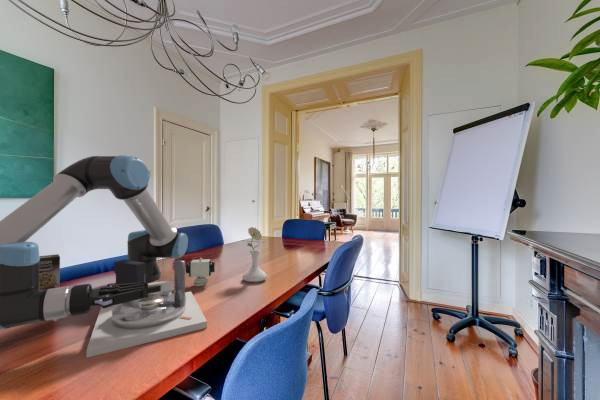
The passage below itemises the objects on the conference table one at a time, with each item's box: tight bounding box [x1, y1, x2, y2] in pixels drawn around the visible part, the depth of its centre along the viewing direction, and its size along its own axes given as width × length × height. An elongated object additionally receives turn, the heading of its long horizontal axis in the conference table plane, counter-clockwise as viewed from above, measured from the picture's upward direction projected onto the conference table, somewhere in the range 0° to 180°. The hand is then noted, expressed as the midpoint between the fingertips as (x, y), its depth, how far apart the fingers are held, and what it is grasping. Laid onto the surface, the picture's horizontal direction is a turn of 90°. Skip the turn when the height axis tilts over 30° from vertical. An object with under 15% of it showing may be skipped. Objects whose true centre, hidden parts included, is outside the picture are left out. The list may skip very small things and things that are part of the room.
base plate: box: [86, 291, 208, 358], centre depth 81 cm, size 28×28×2 cm
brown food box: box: [39, 253, 61, 290], centre depth 96 cm, size 9×6×16 cm
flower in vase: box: [242, 226, 268, 283], centre depth 122 cm, size 13×11×25 cm
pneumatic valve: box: [185, 257, 216, 287], centre depth 114 cm, size 6×12×12 cm, turn 101°
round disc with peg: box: [112, 259, 186, 329], centre depth 81 cm, size 20×20×16 cm
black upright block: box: [113, 259, 145, 284], centre depth 95 cm, size 11×4×15 cm, turn 71°
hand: (172, 285), depth 78 cm, fingers closed
